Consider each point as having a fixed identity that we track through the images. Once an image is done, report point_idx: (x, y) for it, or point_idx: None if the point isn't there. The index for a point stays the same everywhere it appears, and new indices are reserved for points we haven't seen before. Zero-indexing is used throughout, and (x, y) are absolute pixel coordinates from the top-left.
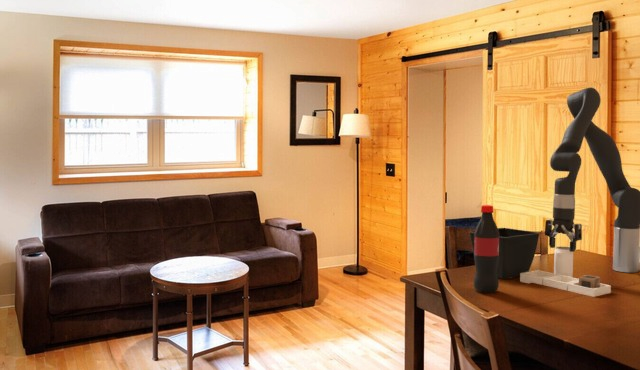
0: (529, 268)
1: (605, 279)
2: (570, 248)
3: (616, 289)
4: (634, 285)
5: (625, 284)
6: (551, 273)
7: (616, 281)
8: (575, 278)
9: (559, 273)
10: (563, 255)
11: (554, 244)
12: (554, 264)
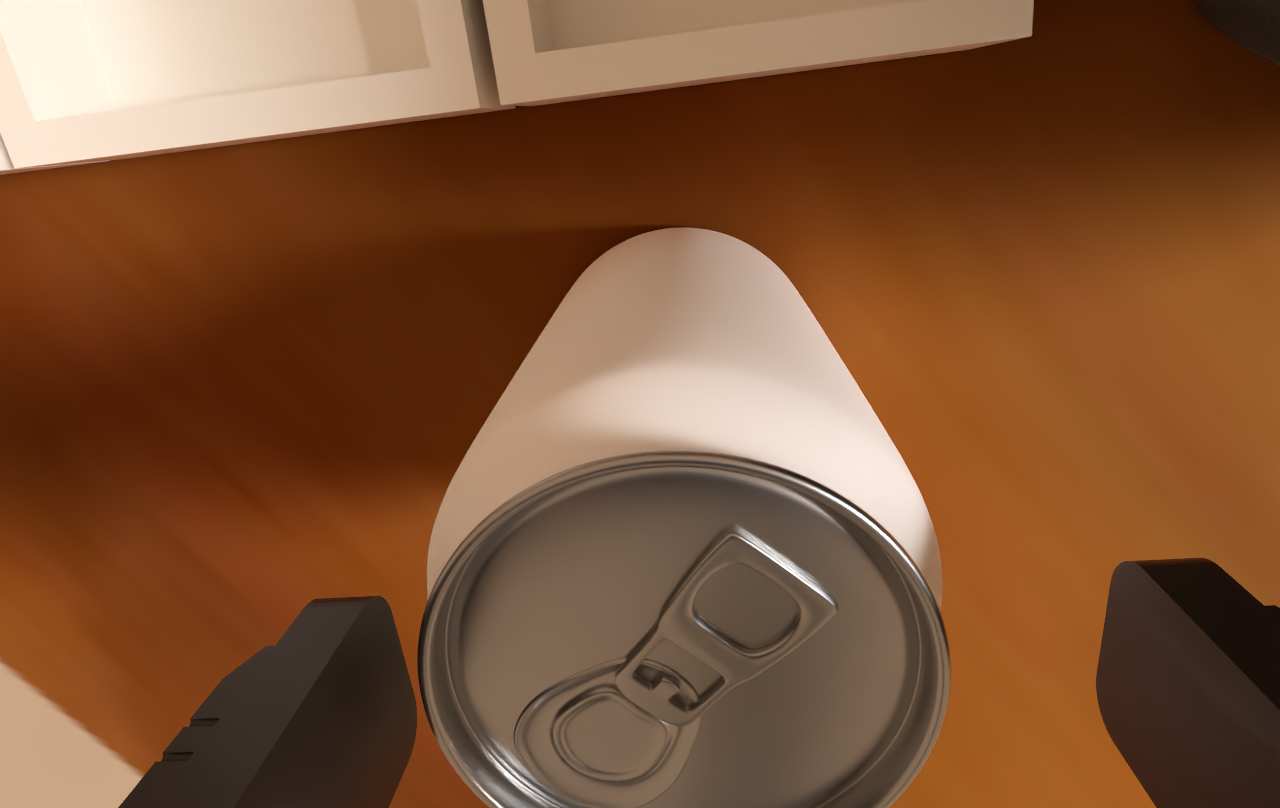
0: (1240, 7)
1: None
2: (299, 650)
3: (20, 501)
4: None
5: None
6: (640, 39)
7: None
8: (141, 117)
9: (634, 252)
10: (515, 401)
11: (1160, 767)
12: (787, 302)
